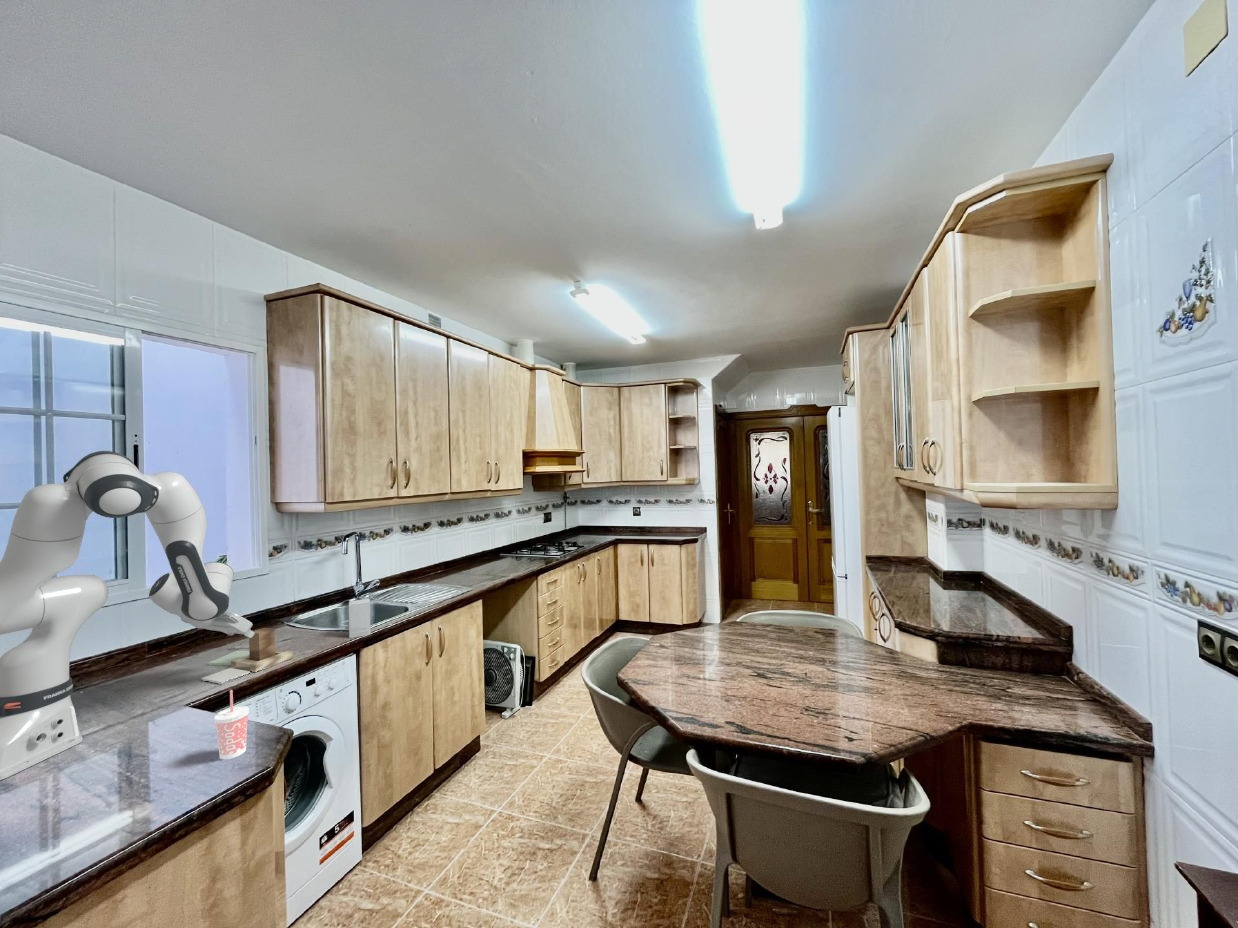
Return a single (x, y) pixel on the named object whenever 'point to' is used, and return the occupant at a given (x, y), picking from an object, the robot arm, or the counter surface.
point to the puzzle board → (248, 666)
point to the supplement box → (359, 618)
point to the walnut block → (262, 644)
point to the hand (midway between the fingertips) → (242, 634)
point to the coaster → (229, 658)
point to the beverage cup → (232, 730)
